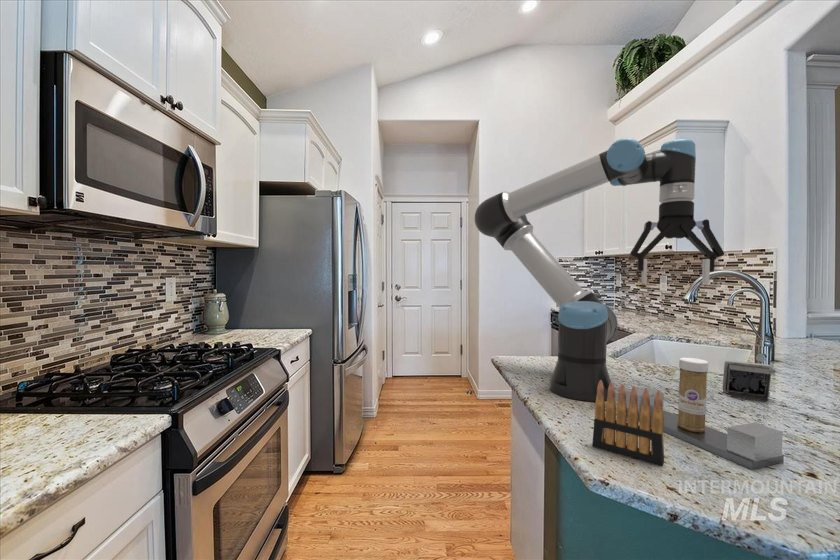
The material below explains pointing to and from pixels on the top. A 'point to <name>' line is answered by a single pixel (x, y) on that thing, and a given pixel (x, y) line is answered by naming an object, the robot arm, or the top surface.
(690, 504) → the top surface
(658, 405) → the ammunition clip
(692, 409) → the sprinkles bottle
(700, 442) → the rail
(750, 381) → the electrical switch
